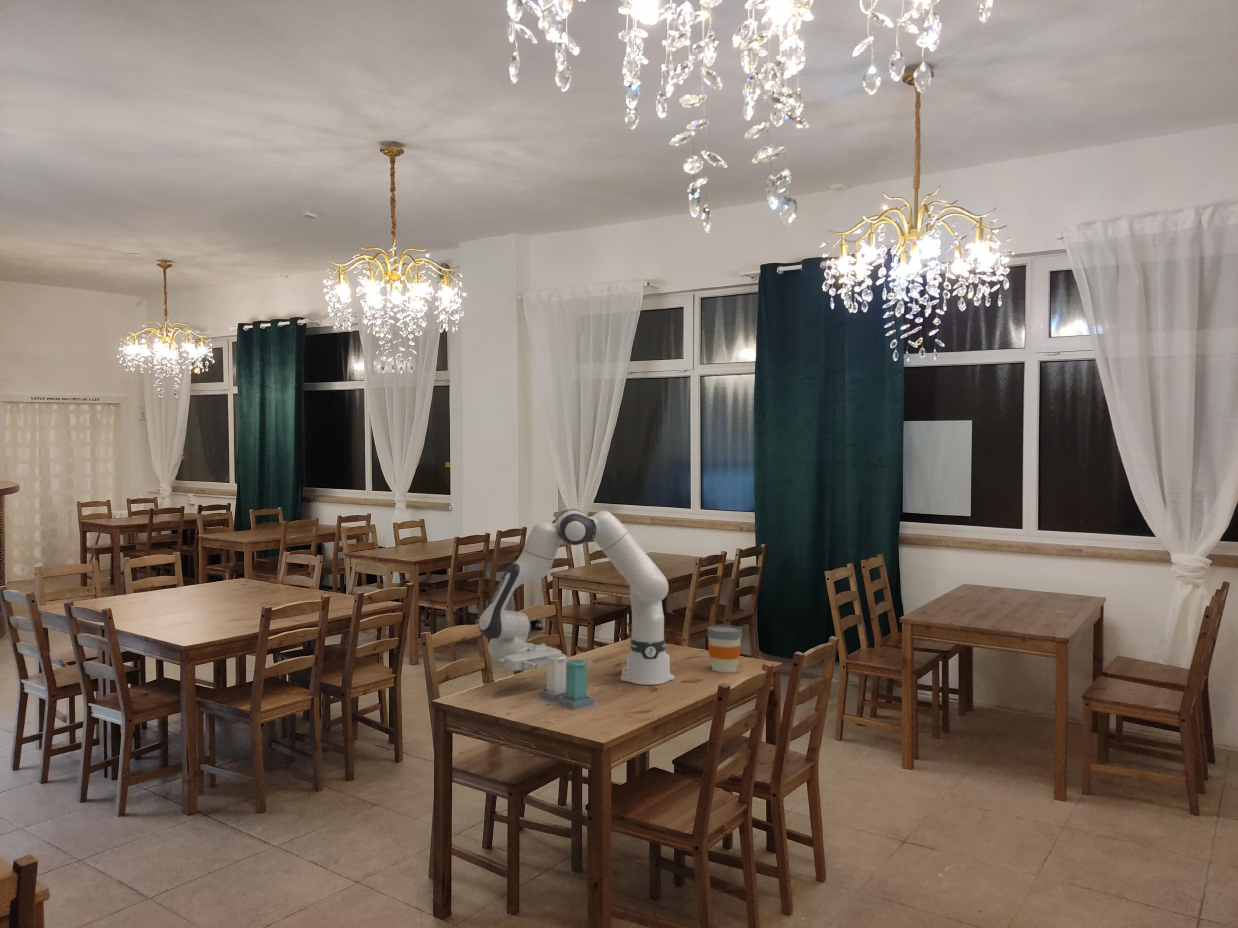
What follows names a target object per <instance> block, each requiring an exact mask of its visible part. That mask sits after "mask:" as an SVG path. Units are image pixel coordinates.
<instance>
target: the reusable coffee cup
mask: <svg viewBox="0 0 1238 928" xmlns="http://www.w3.org/2000/svg"><path fill="white" fill-rule="evenodd" d="M742 632H743V630H742V628H741V627H740V626H736V625H731V624H715V625H710V626H708V628H707V638H708V639H707V640H708V643H707V647H708V648H707V649H708V656H709V657H710V662H711V663H710V664H711V669H712V671H713V672H716V671H717V672H716V673H722V672H725V673H726V674H727V673H728V674H729V673H735V672H737V670H738V662H739V658H740V655H741V649H742V643H741V642H742V641H741V639H742V638H743V633H742ZM725 673H724V674H725Z"/></svg>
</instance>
